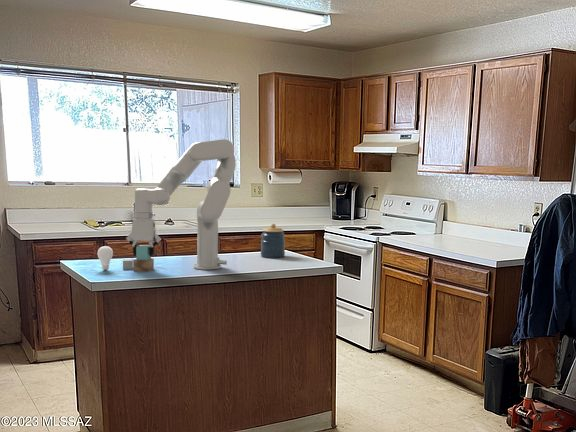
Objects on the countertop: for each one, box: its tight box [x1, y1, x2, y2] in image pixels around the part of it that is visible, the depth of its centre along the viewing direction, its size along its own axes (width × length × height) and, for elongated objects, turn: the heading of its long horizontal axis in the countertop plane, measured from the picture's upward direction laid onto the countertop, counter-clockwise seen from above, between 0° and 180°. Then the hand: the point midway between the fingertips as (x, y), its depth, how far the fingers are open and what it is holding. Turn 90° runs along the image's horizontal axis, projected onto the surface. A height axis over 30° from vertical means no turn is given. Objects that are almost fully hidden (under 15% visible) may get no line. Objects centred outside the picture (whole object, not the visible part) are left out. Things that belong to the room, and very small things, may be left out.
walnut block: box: [132, 257, 155, 273], centre depth 238 cm, size 7×7×5 cm
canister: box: [260, 223, 286, 259], centre depth 281 cm, size 13×13×18 cm
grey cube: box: [122, 258, 134, 270], centre depth 240 cm, size 4×4×4 cm
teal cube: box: [135, 244, 152, 260], centre depth 237 cm, size 5×5×6 cm
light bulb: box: [97, 245, 114, 272], centre depth 234 cm, size 7×7×11 cm
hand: (143, 255), depth 237 cm, fingers open, 6 cm apart
